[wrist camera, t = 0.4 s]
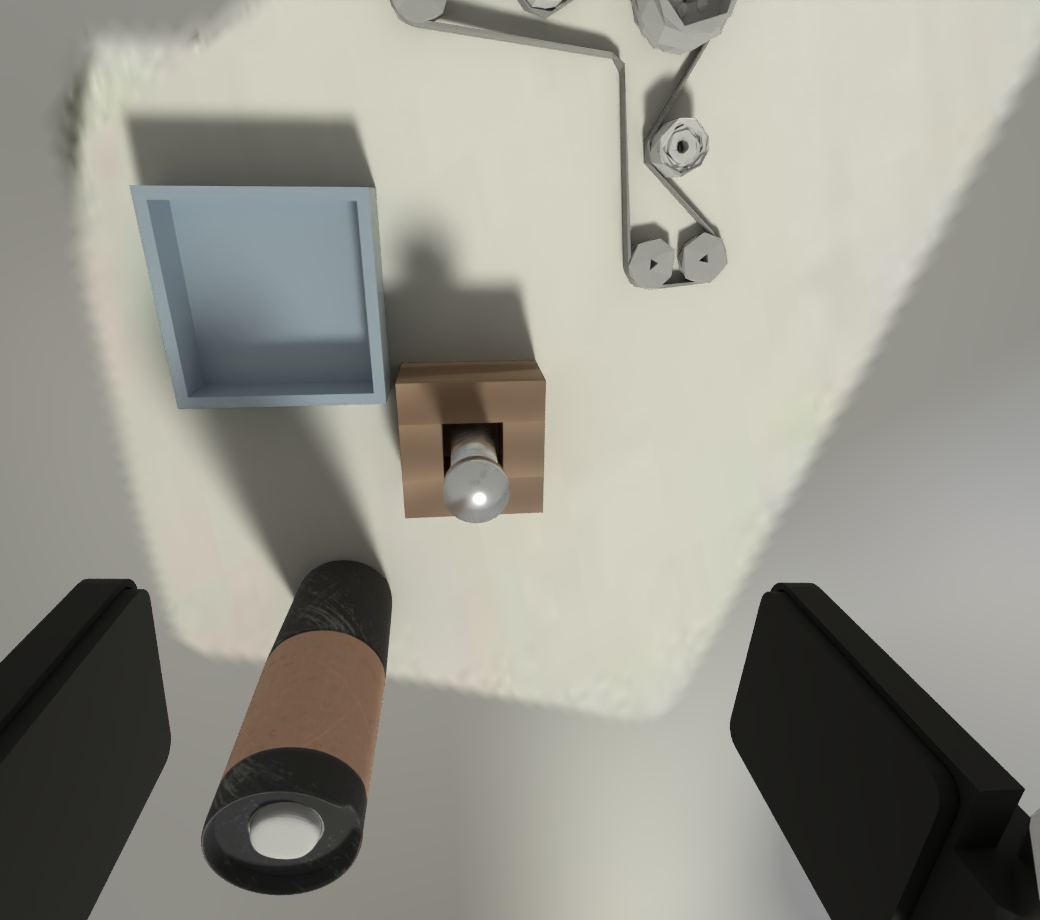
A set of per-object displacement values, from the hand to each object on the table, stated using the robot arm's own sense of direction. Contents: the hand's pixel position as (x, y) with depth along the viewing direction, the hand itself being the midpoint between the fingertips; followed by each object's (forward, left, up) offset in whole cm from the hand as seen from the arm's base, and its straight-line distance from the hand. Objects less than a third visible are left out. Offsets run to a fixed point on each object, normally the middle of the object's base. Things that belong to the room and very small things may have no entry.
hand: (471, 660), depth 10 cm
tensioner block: (+8, +1, -34) cm, 35 cm away
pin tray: (-1, -11, -34) cm, 35 cm away
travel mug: (+22, -9, -34) cm, 42 cm away
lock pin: (+8, +1, -33) cm, 34 cm away
